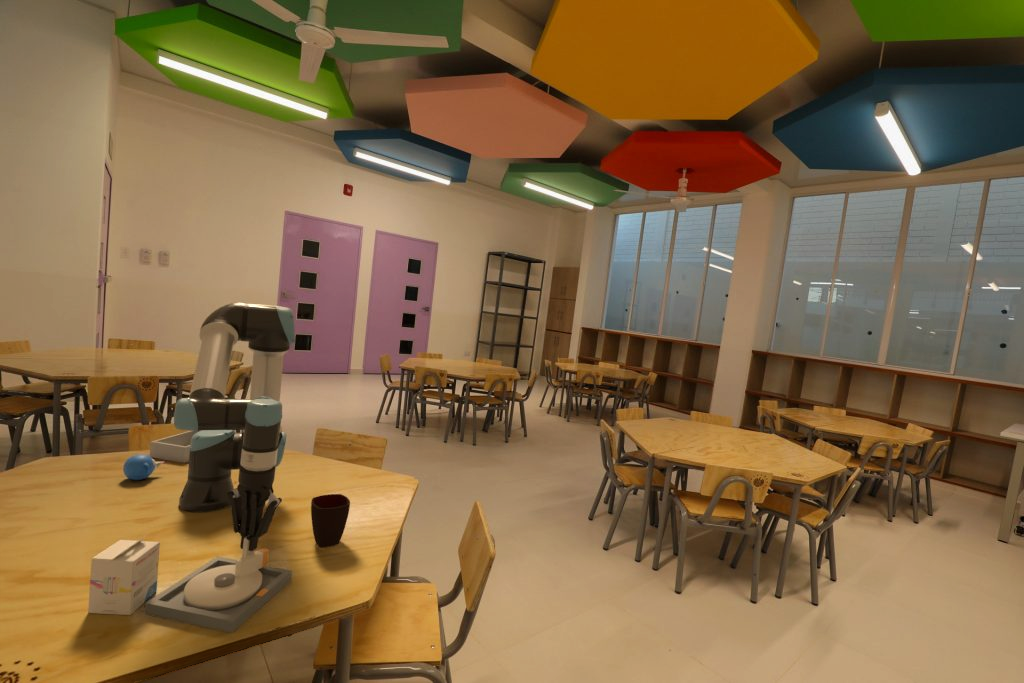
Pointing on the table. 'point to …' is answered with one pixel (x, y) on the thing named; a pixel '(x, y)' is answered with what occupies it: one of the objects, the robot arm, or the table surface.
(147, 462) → the blue mole toy
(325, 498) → the cup
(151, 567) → the ink box
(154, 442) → the tray
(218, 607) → the dial
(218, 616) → the dial plate
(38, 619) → the table surface
